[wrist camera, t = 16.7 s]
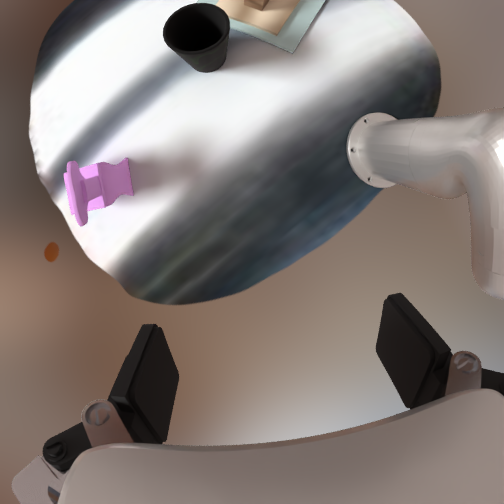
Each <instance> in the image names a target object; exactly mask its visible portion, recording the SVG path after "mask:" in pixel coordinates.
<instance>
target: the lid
mask: <svg viewBox="0 0 504 504" xmlns="http://www.w3.org/2000/svg"><path fill="white" fill-rule="evenodd" d="M299 1H300V0H219V1H218V2H217V4H216V6H218V7H220V8H221V9H223V10H224V11H225V12H226V14H227V15H228V17H229V18H230V19H233V20H236V21H239V22H242V23H244V24H247V25H250V26H253V27H255V28H258V29H260V30H263V31H265V32H268V33H270V34H273V35H275V36H277V35H278V33H279V32H280V30H281V29H282V27H283V25H284V24H285V22H286V21H287V19H288V18H289V16H290V15H291V13H292V12H293V10H294V9H295V7H296V6H297V4H298V3H299Z"/></svg>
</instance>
